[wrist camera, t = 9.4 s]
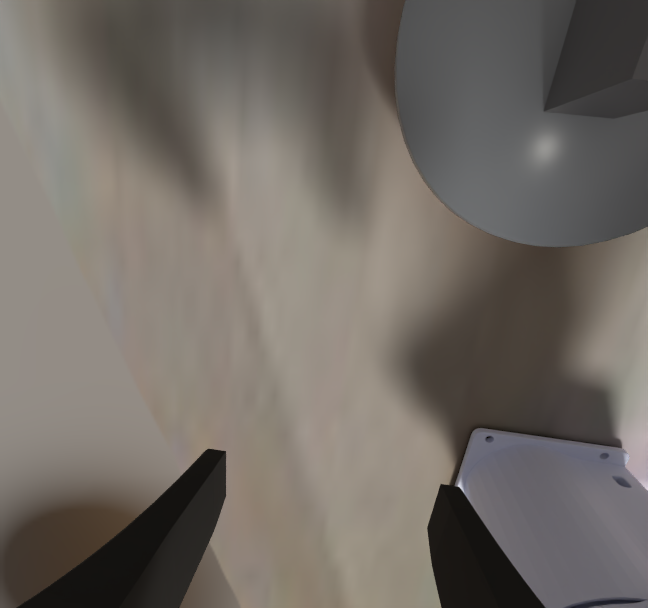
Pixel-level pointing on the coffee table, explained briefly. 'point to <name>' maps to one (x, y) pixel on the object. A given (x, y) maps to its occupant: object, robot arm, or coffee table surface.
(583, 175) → the lid
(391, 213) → the coffee table surface
